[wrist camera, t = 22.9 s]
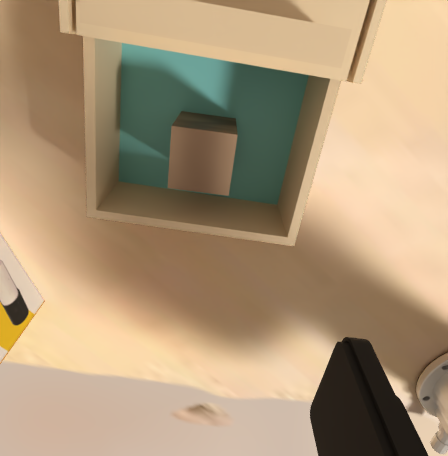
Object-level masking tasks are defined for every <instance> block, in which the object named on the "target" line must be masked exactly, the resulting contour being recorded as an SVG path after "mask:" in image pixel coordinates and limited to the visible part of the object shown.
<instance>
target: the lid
mask: <svg viewBox="0 0 448 456" xmlns="http://www.w3.org/2000/svg"><path fill="white" fill-rule="evenodd" d="M386 1H387V0H59V20H60V32H62V33H67V34H77V35H80V36H86V37H91V38H97V39H103V40H109V41H115V42H120V43H126V44H132V45H138V46H144V47H149V48H155V49H161V50H167V51H172V52H178V53H184V54H190V55H196V56H201V57H207V58H213V59H219V60H225V61H230V62H236V63H242V64H248V65H254V66H259V67H265V68H271V69H277V70H282V71H288V72H294V73H300V74H306V75H311V76H317V77H323V78H329V79H335V80H340V81H349V82H352V83H357V84H361V82H362V79H363V76H364V72H365V69H366V66H367V63H368V59H369V56H370V53H371V50H372V46H373V43H374V40H375V37H376V33H377V30H378V27H379V24H380V21H381V17H382V14H383V11H384V8H385V4H386Z"/></svg>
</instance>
